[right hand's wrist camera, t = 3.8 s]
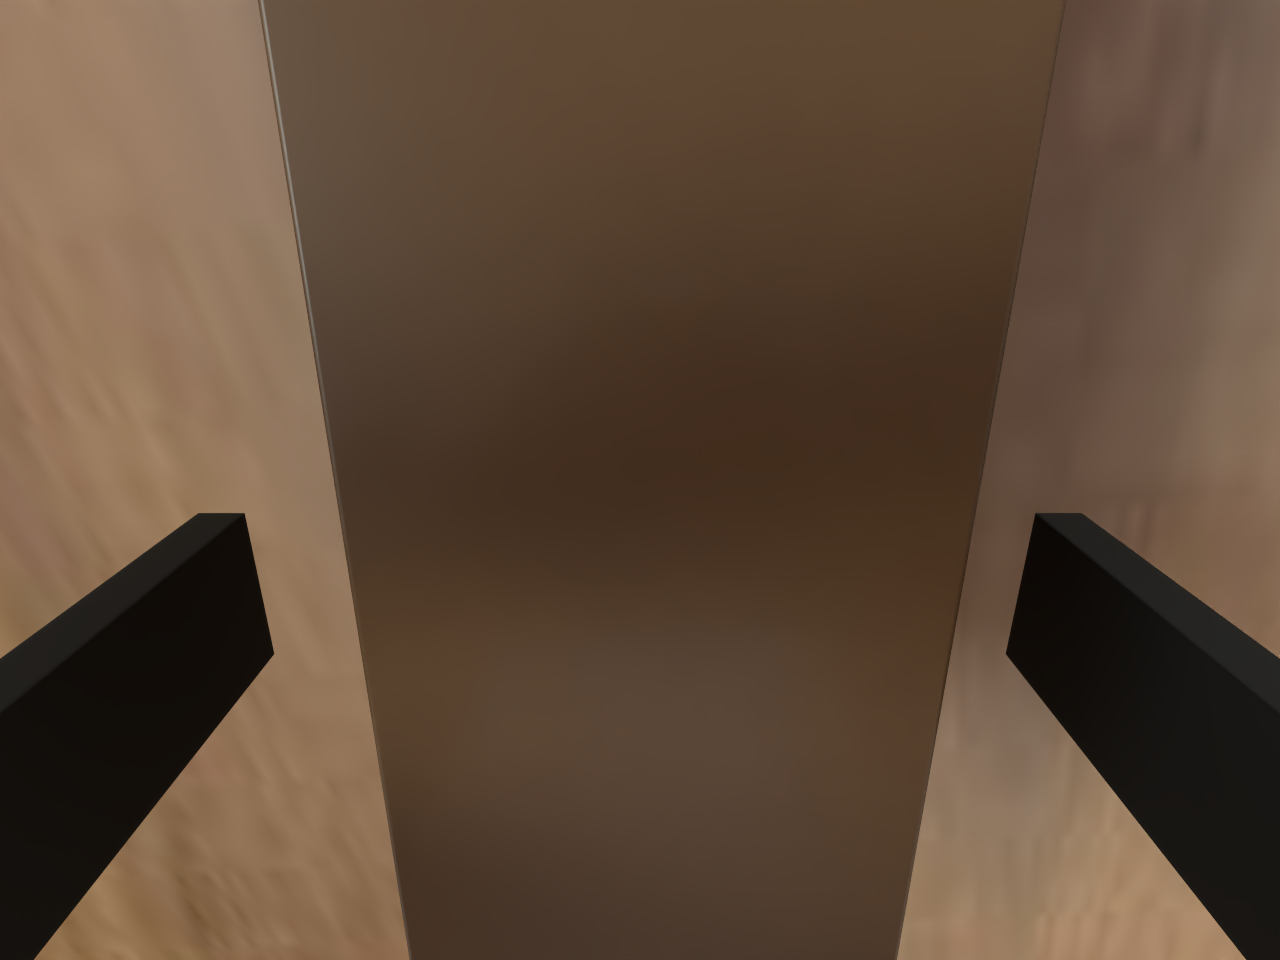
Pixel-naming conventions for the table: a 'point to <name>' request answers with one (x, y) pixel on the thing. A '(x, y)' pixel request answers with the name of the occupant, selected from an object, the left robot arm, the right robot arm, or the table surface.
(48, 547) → the table surface
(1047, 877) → the table surface
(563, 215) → the bar
